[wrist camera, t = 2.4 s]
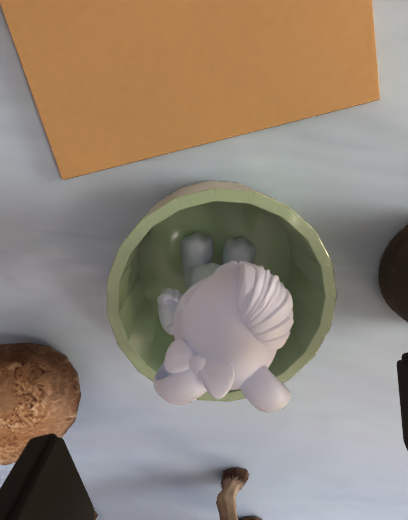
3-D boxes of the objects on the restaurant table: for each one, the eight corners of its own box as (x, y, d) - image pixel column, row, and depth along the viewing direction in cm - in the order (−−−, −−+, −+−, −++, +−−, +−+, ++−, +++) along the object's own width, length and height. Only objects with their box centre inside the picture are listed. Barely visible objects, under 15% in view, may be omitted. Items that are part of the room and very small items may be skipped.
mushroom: (24, 483, 24) (-22, 513, 18) (-41, 399, 25) (-103, 403, 20) (111, 396, 27) (94, 398, 21) (47, 324, 28) (15, 308, 22)
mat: (355, -151, 17) (359, -158, 17) (376, 100, 20) (380, 99, 20) (-14, -44, 18) (-19, -49, 18) (64, 179, 21) (62, 179, 21)
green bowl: (283, 161, 21) (318, 161, 15) (309, 321, 25) (348, 376, 18) (108, 205, 22) (73, 222, 16) (157, 356, 25) (144, 420, 19)
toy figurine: (273, 228, 22) (355, 300, 11) (257, 315, 24) (313, 457, 13) (169, 216, 22) (139, 277, 10) (160, 305, 24) (127, 443, 12)
